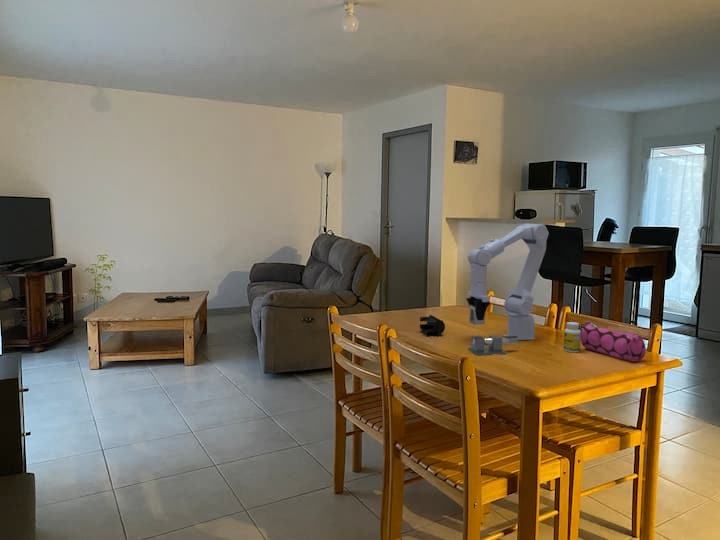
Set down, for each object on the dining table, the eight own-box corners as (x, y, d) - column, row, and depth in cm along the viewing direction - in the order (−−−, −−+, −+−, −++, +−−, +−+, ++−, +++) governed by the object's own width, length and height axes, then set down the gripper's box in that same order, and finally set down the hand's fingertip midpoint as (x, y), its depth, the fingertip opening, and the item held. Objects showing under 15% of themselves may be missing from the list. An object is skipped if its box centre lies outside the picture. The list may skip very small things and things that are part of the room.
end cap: (445, 336, 210) (445, 319, 209) (427, 337, 209) (427, 319, 208) (436, 330, 220) (436, 314, 219) (419, 331, 218) (419, 315, 218)
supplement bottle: (559, 349, 191) (561, 322, 190) (572, 348, 193) (573, 321, 192) (571, 353, 186) (572, 325, 185) (583, 352, 188) (585, 324, 187)
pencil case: (575, 349, 191) (576, 321, 190) (594, 346, 196) (595, 319, 195) (629, 364, 172) (631, 334, 171) (649, 361, 177) (651, 331, 176)
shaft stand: (511, 347, 193) (512, 333, 192) (522, 353, 185) (522, 338, 184) (468, 349, 190) (468, 334, 189) (477, 355, 182) (477, 340, 181)
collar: (479, 321, 203) (480, 304, 203) (484, 324, 199) (485, 306, 198) (469, 321, 203) (469, 304, 202) (474, 324, 198) (474, 307, 197)
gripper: (460, 279, 205) (460, 315, 207) (475, 284, 191) (474, 322, 193) (478, 279, 207) (477, 314, 208) (494, 284, 192) (493, 322, 194)
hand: (477, 318), depth 200 cm, fingers closed on collar, 5 cm apart
